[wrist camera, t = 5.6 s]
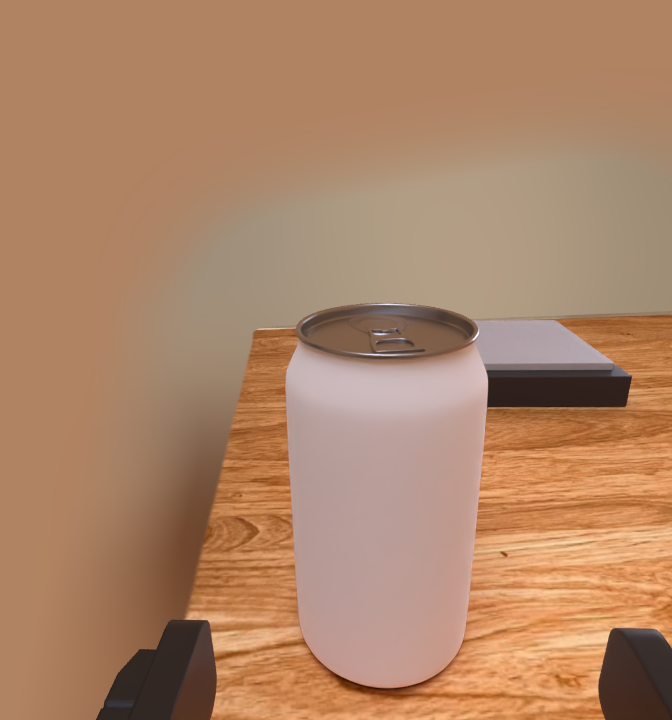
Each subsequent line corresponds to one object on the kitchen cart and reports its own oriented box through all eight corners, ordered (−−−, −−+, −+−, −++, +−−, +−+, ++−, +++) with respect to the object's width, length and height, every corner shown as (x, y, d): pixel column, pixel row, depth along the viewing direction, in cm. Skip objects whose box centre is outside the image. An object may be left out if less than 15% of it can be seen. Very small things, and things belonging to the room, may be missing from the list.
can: (435, 552, 23) (450, 296, 19) (493, 684, 17) (535, 352, 13) (294, 567, 22) (279, 304, 18) (304, 710, 16) (284, 367, 12)
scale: (435, 406, 38) (437, 369, 37) (414, 346, 51) (415, 317, 50) (626, 406, 37) (634, 368, 36) (555, 345, 50) (559, 316, 49)
